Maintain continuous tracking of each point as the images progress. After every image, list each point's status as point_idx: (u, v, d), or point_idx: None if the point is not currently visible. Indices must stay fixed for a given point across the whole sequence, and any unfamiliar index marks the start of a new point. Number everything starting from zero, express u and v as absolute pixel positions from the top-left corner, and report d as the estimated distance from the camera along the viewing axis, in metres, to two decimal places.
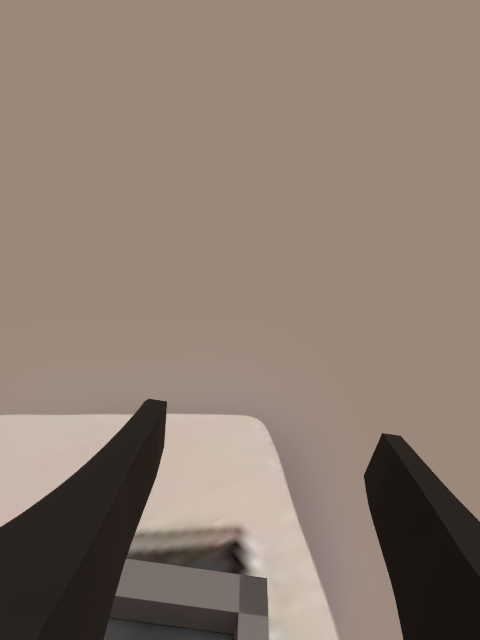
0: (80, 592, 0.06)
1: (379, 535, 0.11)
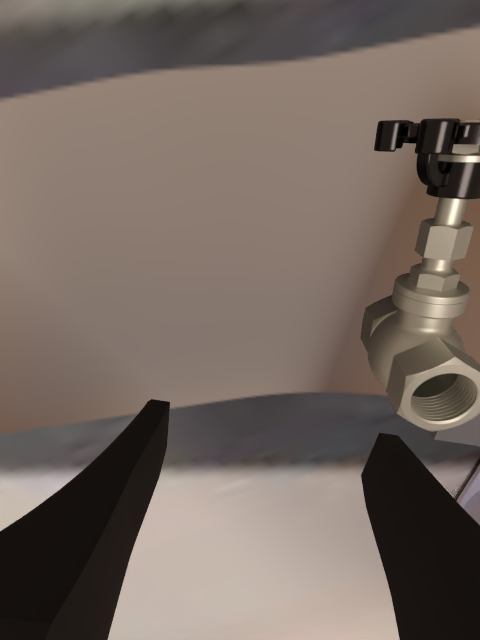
0: (86, 593, 0.06)
1: (376, 535, 0.11)
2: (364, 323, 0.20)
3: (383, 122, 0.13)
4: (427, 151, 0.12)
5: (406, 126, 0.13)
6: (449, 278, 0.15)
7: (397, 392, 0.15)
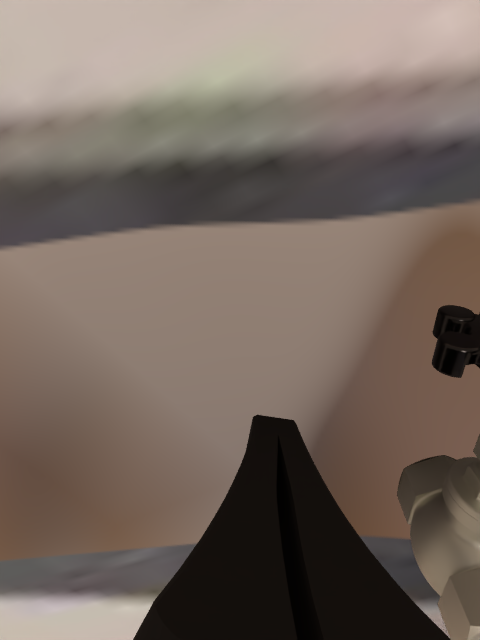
0: None
1: None
2: (403, 484, 0.18)
3: (447, 345, 0.11)
4: None
5: (476, 354, 0.10)
6: None
7: (457, 630, 0.13)
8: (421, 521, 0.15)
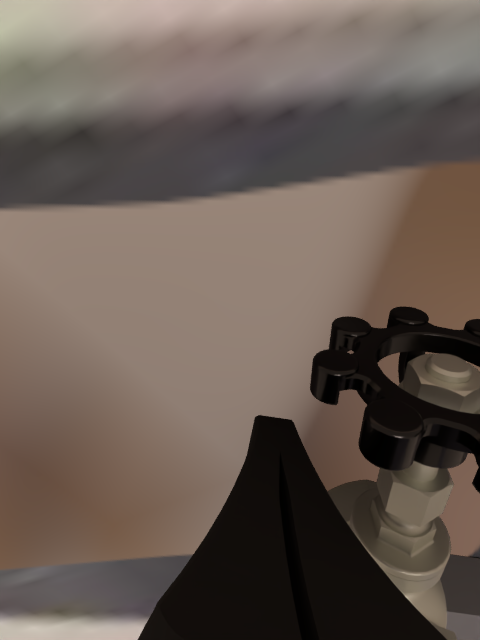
0: None
1: None
2: None
3: (318, 367, 0.09)
4: (374, 463, 0.07)
5: (351, 378, 0.09)
6: (421, 538, 0.11)
7: None
8: None
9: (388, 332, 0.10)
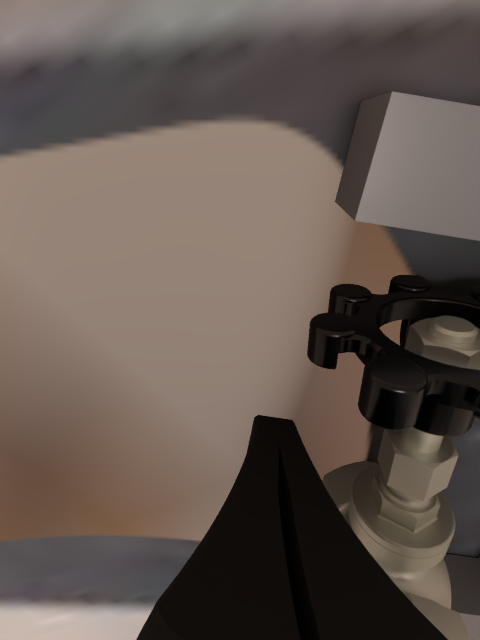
0: None
1: None
2: None
3: (315, 329, 0.08)
4: (374, 422, 0.07)
5: (350, 339, 0.08)
6: (424, 514, 0.10)
7: None
8: None
9: (389, 298, 0.10)
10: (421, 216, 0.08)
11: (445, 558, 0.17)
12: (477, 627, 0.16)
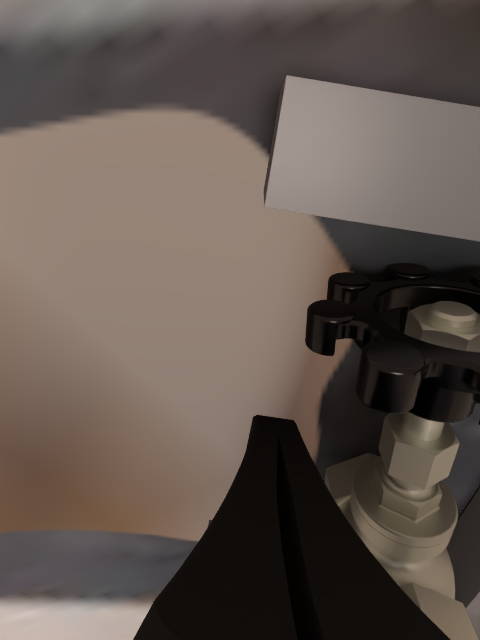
0: None
1: None
2: None
3: (313, 315, 0.08)
4: (372, 406, 0.07)
5: (348, 325, 0.08)
6: (426, 503, 0.10)
7: None
8: None
9: (388, 286, 0.10)
10: (329, 202, 0.08)
11: None
12: None
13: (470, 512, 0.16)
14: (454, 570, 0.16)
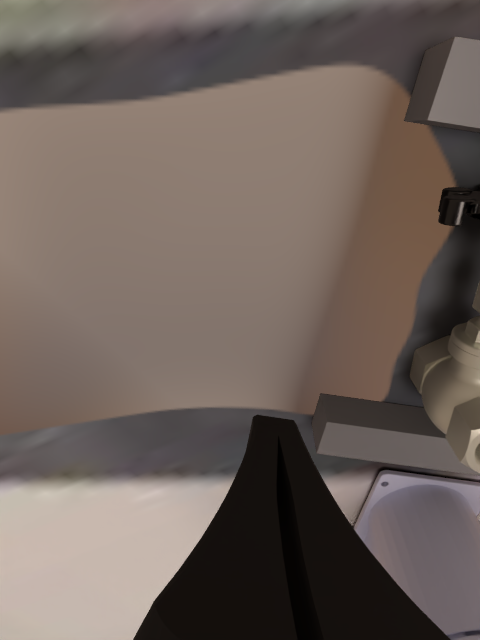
0: None
1: None
2: (414, 364, 0.21)
3: (450, 200, 0.14)
4: None
5: (472, 204, 0.14)
6: None
7: (461, 442, 0.16)
8: (430, 379, 0.19)
9: None
10: (468, 116, 0.13)
11: None
12: None
13: None
14: None
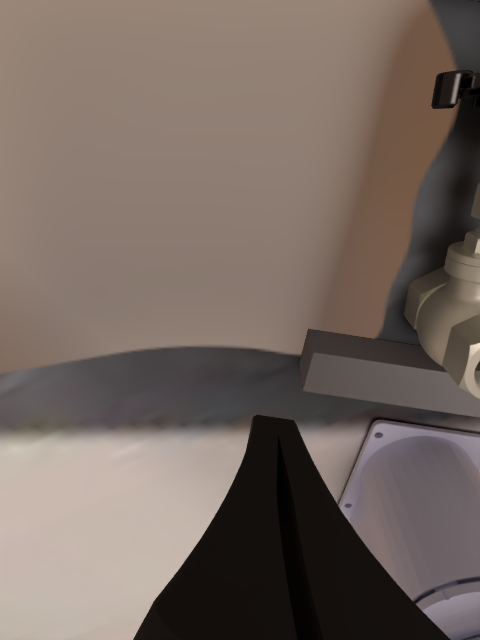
0: None
1: None
2: (408, 299, 0.19)
3: (444, 74, 0.12)
4: None
5: (469, 76, 0.12)
6: None
7: (459, 364, 0.14)
8: (426, 306, 0.17)
9: None
10: None
11: None
12: None
13: None
14: None
